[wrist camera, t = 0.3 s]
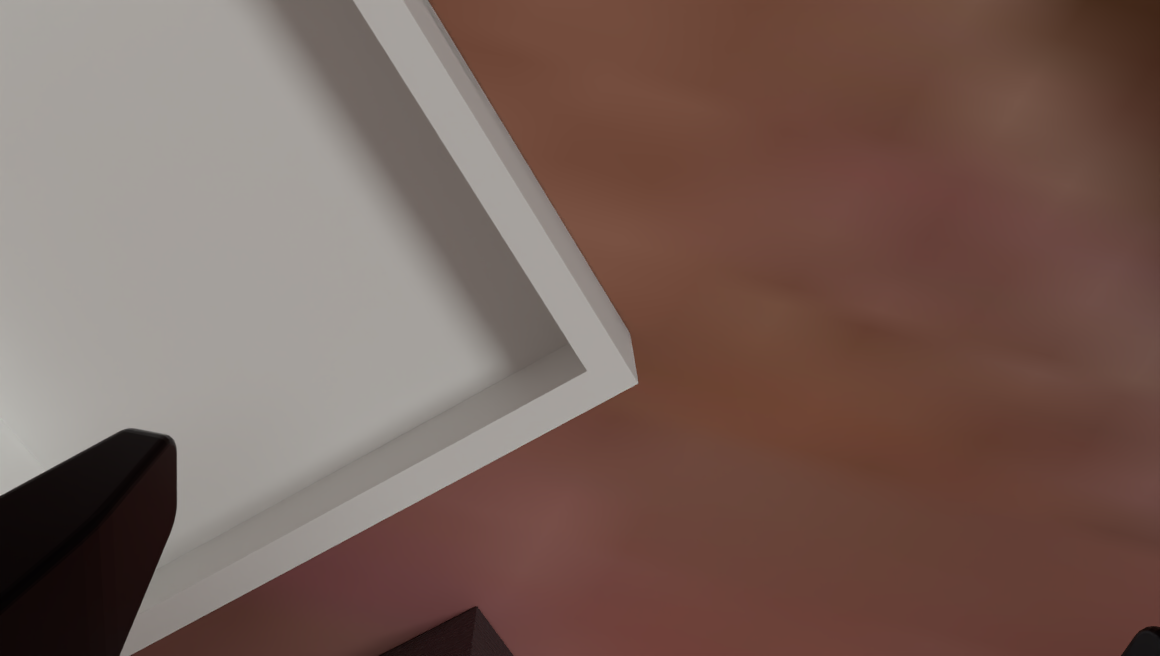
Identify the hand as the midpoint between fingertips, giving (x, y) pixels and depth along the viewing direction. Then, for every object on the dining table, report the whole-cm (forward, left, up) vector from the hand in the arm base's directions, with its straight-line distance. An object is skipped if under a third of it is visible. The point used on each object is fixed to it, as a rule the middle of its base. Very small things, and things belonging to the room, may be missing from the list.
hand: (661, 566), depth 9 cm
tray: (-8, +4, -15) cm, 18 cm away
